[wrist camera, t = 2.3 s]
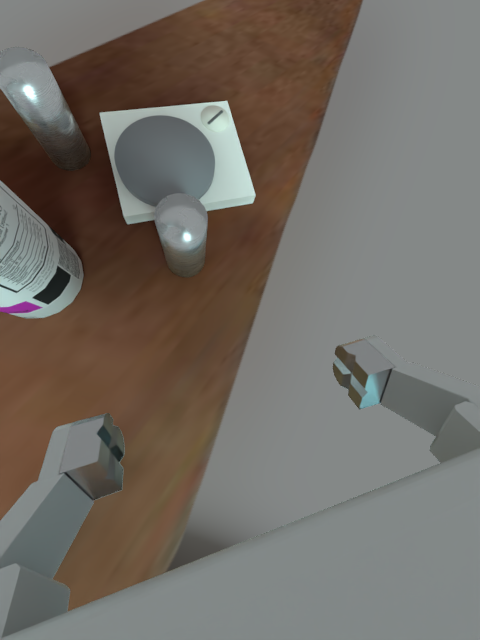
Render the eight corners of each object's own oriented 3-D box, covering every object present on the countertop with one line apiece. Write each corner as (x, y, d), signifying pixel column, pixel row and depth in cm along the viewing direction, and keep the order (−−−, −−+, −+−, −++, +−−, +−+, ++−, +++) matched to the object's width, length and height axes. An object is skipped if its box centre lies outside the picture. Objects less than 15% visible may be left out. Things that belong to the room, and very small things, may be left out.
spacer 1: (53, 173, 28) (-6, 94, 20) (46, 139, 29) (-14, 48, 21) (94, 167, 29) (53, 89, 21) (86, 135, 30) (43, 46, 21)
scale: (127, 224, 29) (120, 211, 26) (103, 124, 30) (95, 103, 28) (252, 203, 31) (257, 189, 29) (225, 112, 33) (228, 92, 30)
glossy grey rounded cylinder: (171, 281, 29) (161, 246, 20) (162, 245, 29) (148, 197, 21) (208, 272, 29) (213, 236, 21) (199, 238, 30) (200, 189, 21)
